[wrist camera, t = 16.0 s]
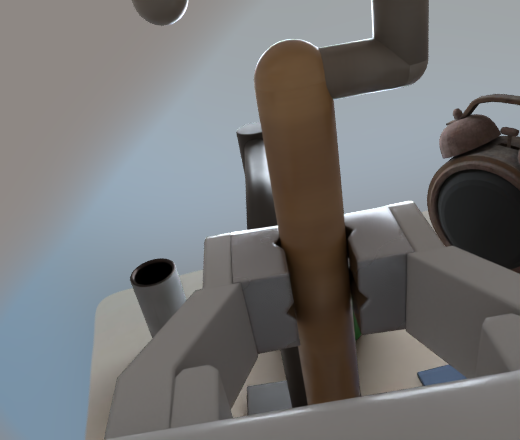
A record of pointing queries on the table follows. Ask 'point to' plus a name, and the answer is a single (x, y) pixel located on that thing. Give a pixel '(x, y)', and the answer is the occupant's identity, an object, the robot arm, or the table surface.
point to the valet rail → (257, 217)
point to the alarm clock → (479, 186)
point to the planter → (158, 292)
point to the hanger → (321, 168)
